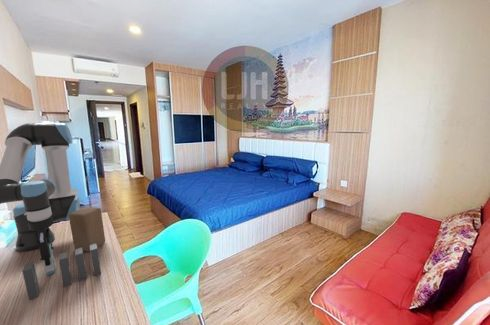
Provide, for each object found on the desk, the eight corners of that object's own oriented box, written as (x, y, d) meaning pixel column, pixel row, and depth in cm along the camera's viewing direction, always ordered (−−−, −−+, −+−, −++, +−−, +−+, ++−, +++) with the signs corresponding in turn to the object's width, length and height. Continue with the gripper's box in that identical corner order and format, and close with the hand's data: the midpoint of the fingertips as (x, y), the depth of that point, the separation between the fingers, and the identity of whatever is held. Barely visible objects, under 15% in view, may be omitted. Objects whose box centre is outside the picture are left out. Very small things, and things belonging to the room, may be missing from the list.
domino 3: (64, 280, 90) (59, 254, 88) (71, 277, 91) (67, 251, 89) (63, 287, 86) (58, 260, 84) (71, 284, 88) (67, 257, 85)
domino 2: (47, 269, 97) (42, 244, 94) (55, 266, 98) (50, 242, 96) (46, 275, 93) (41, 250, 90) (54, 272, 94) (49, 247, 92)
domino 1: (30, 291, 84) (24, 264, 82) (39, 288, 85) (33, 261, 83) (28, 300, 80) (22, 271, 78) (38, 296, 82) (31, 268, 79)
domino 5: (93, 269, 96) (89, 245, 94) (100, 267, 98) (96, 243, 95) (94, 276, 92) (90, 250, 90) (101, 273, 94) (97, 248, 91)
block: (90, 252, 109) (84, 215, 105) (73, 250, 111) (67, 213, 107) (106, 241, 118) (101, 207, 114) (91, 240, 120) (85, 206, 116)
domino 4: (79, 274, 93) (74, 249, 91) (86, 272, 94) (82, 247, 92) (79, 281, 89) (74, 255, 87) (87, 278, 91) (82, 252, 88)
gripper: (30, 213, 95) (41, 260, 100) (23, 229, 81) (35, 283, 86) (53, 208, 100) (62, 254, 104) (50, 223, 86) (60, 275, 90)
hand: (50, 267), depth 95 cm, fingers closed on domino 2, 5 cm apart
